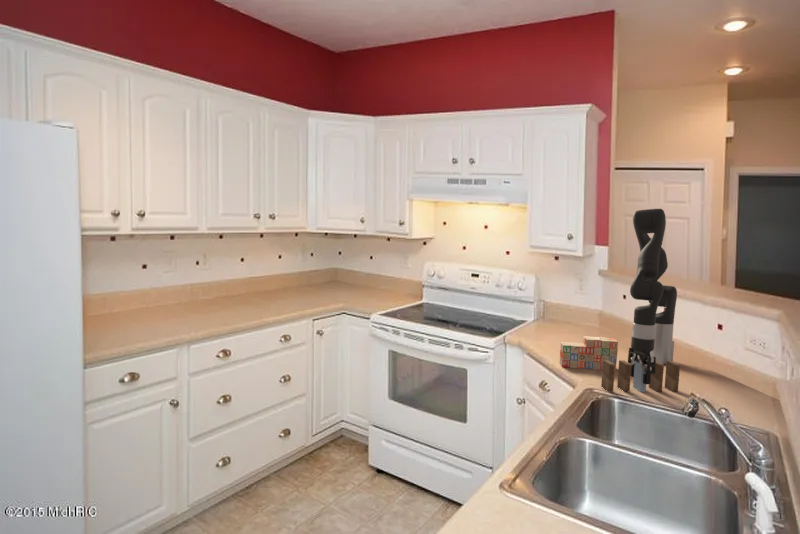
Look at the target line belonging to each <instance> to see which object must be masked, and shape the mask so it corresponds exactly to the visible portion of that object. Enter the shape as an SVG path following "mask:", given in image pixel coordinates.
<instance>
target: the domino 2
mask: <svg viewBox="0 0 800 534" xmlns="http://www.w3.org/2000/svg"><path fill="white" fill-rule="evenodd" d="M644 365H647V364H644ZM646 370H647V368H646ZM643 376H644V371H643V368H641V365H640V363H638V362H636V361H635V366H634V377H633V382H632V388H633V389H634V390H636V389H637V390H636V391H637V392H639V391H640V393H646V392H647V391H646V390H647V384H643Z"/></svg>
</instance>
